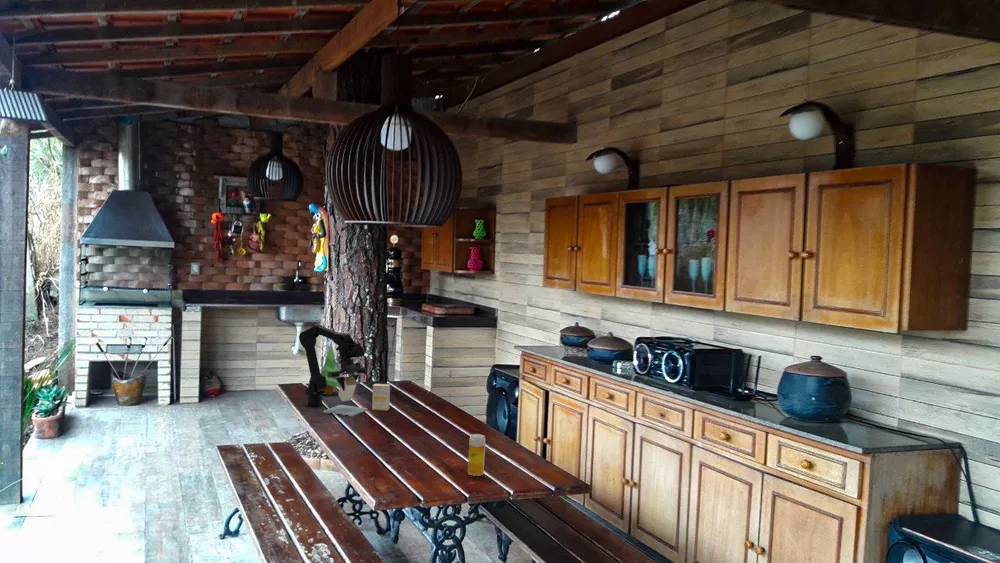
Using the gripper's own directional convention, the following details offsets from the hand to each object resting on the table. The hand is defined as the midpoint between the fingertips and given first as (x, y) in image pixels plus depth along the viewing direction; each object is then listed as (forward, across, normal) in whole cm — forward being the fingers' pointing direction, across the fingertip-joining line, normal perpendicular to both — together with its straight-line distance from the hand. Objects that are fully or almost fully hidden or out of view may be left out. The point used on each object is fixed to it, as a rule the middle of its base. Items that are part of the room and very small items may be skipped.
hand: (348, 389), depth 364 cm
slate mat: (+11, 0, +6) cm, 12 cm away
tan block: (+4, 0, +6) cm, 7 cm away
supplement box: (+13, +18, +2) cm, 22 cm away
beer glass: (+33, -6, -108) cm, 113 cm away
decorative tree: (+4, +11, +47) cm, 48 cm away
